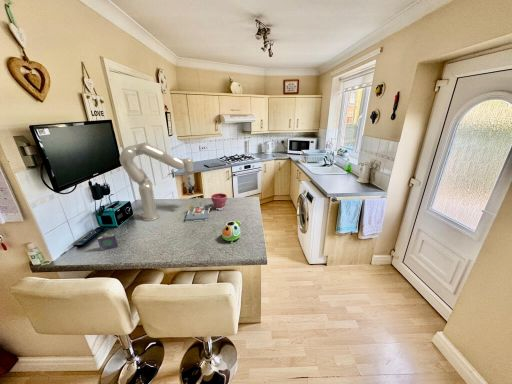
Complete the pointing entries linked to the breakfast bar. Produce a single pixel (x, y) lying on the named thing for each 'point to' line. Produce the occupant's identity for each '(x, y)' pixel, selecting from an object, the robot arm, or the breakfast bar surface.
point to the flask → (107, 242)
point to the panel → (197, 214)
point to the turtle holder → (231, 231)
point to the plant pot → (219, 200)
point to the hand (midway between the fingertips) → (191, 191)
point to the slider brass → (191, 207)
